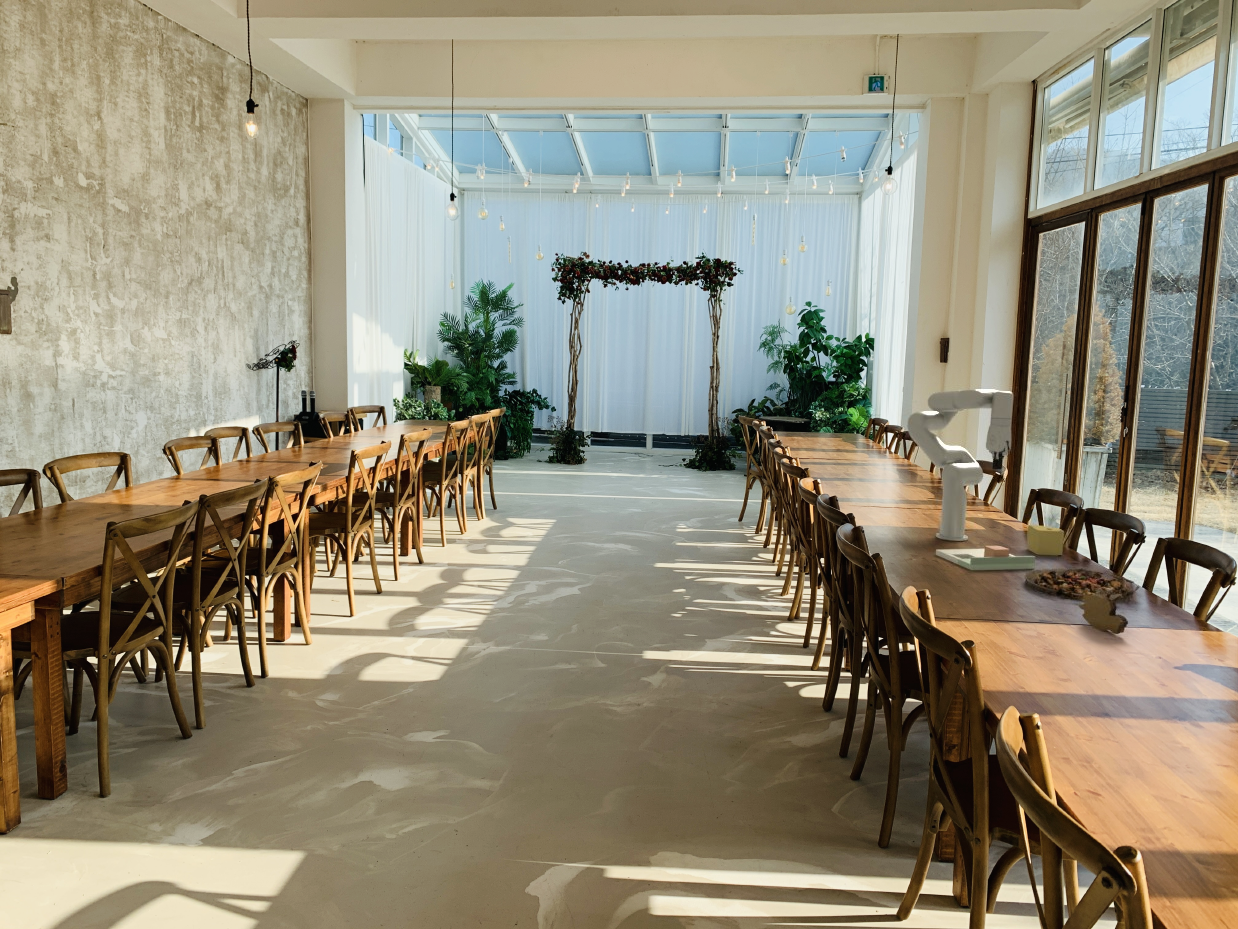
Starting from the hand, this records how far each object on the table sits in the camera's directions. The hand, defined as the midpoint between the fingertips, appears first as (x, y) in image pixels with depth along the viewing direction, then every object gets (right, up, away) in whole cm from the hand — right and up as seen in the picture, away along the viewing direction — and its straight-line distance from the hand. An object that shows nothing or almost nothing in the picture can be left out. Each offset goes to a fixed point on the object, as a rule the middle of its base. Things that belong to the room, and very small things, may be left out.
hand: (997, 469), depth 347 cm
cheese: (+18, -33, 0) cm, 38 cm away
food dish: (+3, -40, -55) cm, 69 cm away
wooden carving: (-12, -45, -98) cm, 108 cm away
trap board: (-13, -34, -17) cm, 41 cm away
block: (-12, -33, -26) cm, 44 cm away
